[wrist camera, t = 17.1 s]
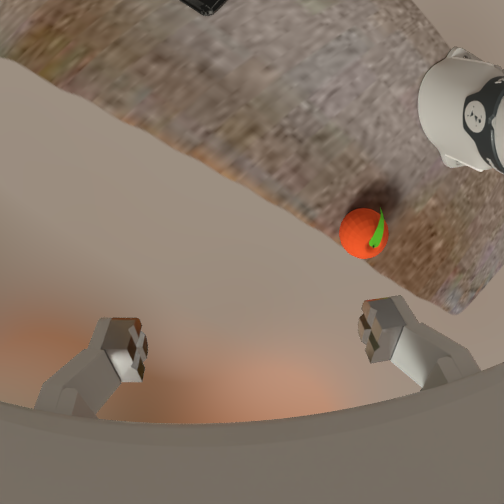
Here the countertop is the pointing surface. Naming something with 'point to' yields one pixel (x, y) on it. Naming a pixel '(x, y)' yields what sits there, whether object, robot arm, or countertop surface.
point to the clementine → (363, 233)
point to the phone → (204, 5)
